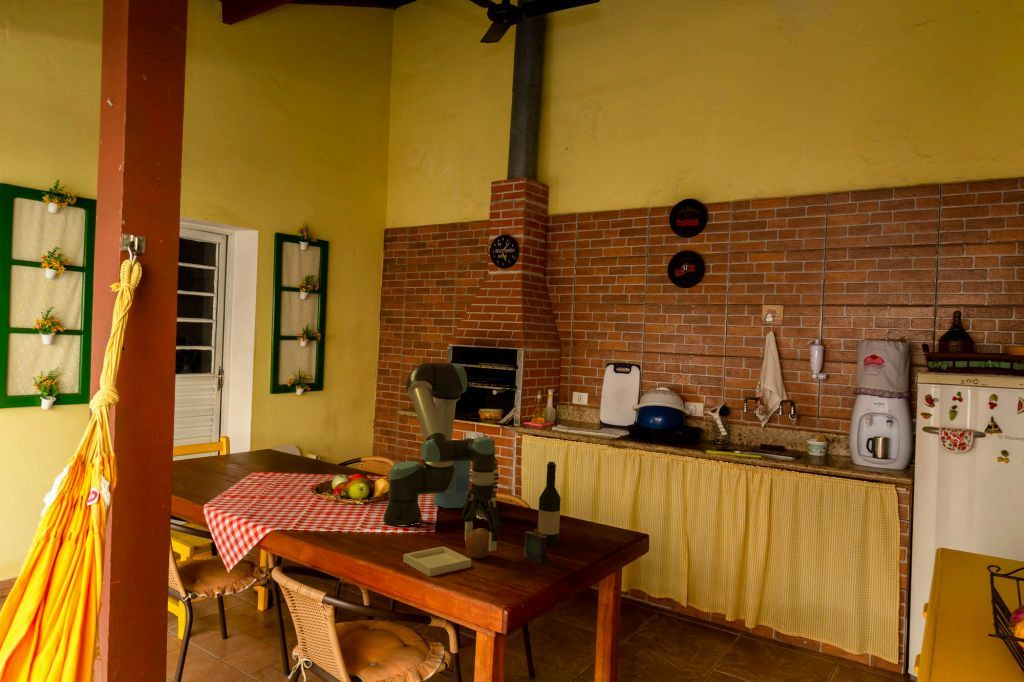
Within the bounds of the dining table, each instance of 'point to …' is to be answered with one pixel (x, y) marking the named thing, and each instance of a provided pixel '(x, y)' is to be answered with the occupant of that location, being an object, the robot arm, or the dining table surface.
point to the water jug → (456, 488)
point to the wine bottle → (549, 508)
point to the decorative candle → (493, 497)
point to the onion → (478, 543)
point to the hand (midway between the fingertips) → (480, 545)
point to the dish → (436, 561)
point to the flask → (535, 546)
